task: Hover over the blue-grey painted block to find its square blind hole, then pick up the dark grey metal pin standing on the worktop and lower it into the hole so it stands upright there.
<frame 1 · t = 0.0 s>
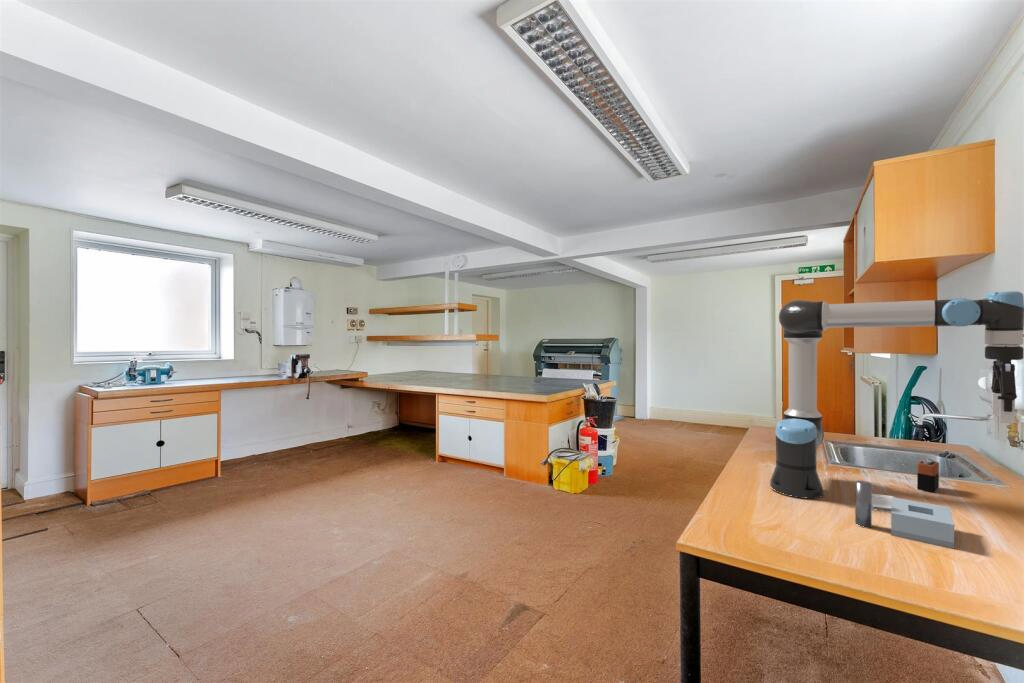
hand: (1002, 419, 130), 28 cm above the table, tool pointing down, fingers open, 13 cm apart
external hard drive: (883, 506, 141), on the table
socket block: (920, 531, 122), on the table
battery: (928, 489, 152), on the table
pin: (863, 525, 126), on the table
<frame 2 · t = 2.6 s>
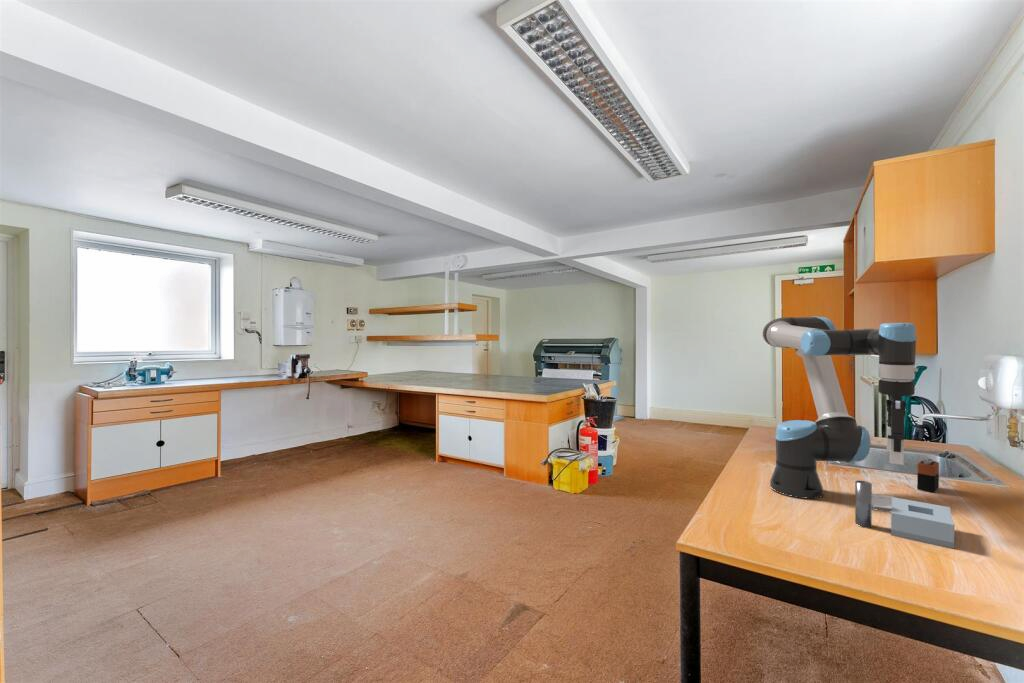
hand: (894, 456, 124), 20 cm above the table, tool pointing down, fingers open, 13 cm apart
nothing on the table moved.
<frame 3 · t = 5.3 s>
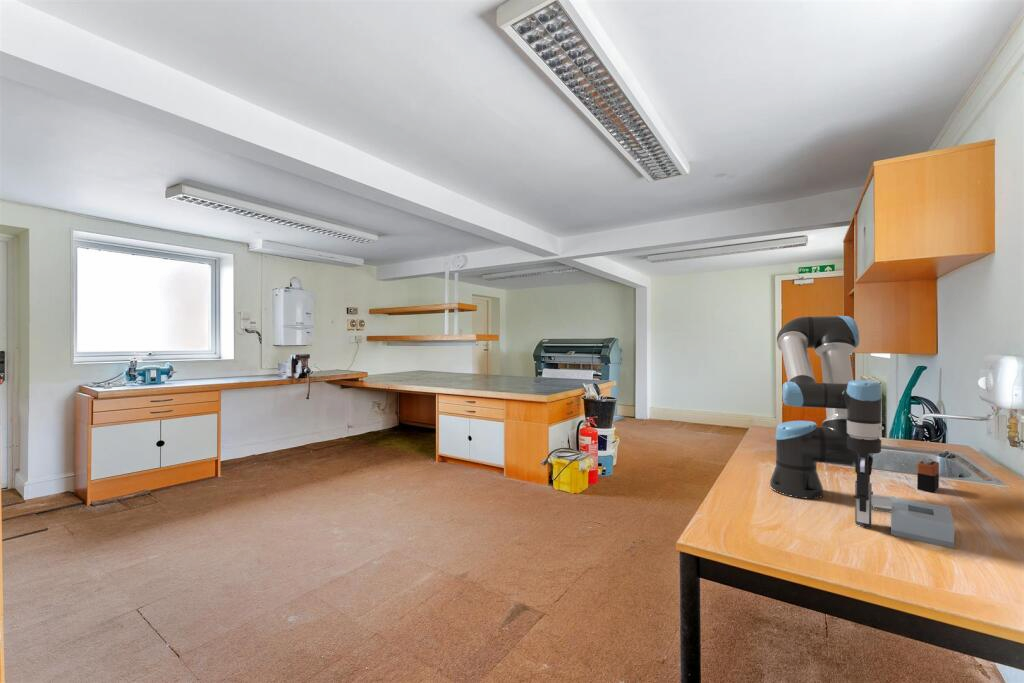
hand: (863, 519, 126), 2 cm above the table, tool pointing down, fingers closed on pin, 3 cm apart
pin: (863, 524, 127), on the table, touching gripper
everything else where it was.
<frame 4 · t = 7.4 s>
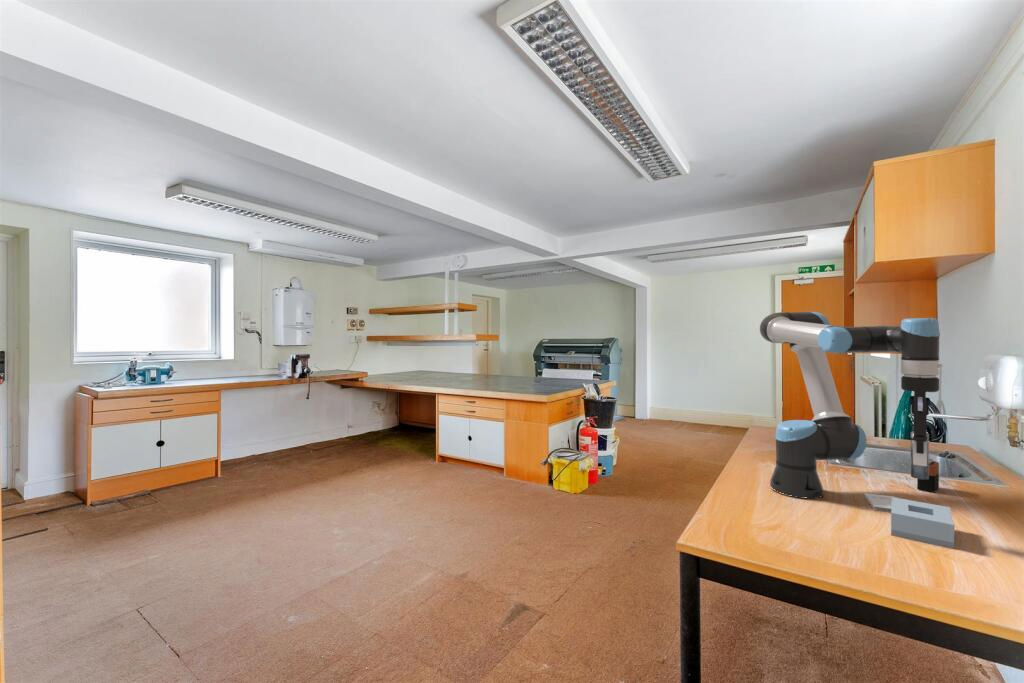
hand: (919, 463, 121), 19 cm above the table, tool pointing down, fingers closed on pin, 3 cm apart
pin: (919, 477, 121), point 15 cm above the table, touching gripper
everything else where it was.
when the fingers open (7 cm above the table, at t = 9.8 s): pin stays where it is, resting on socket block.
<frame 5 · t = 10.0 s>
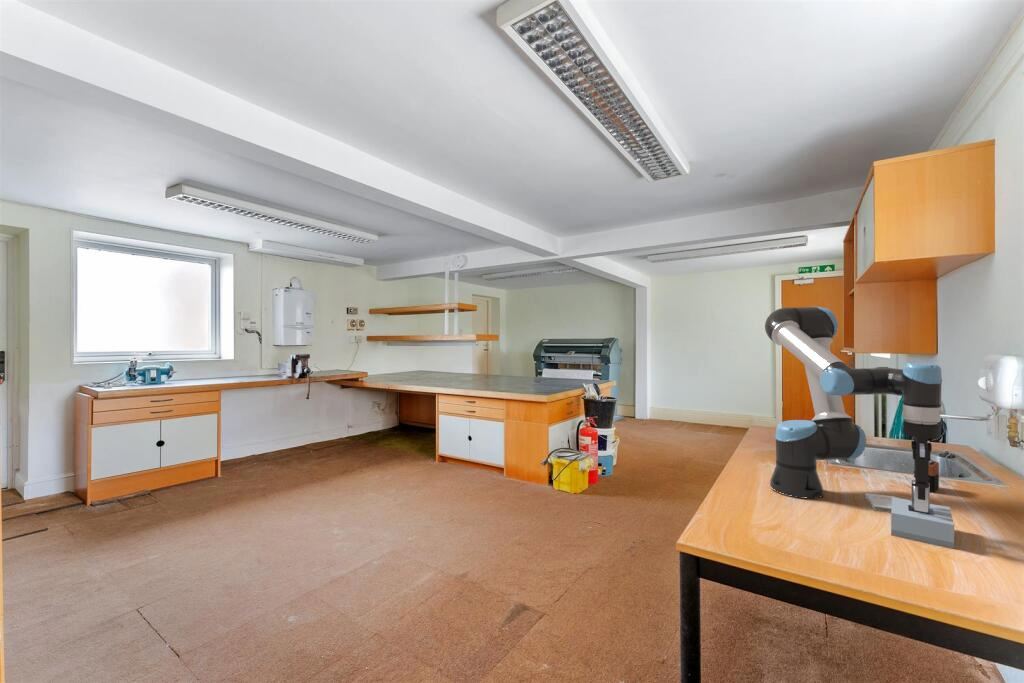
hand: (920, 507, 121), 7 cm above the table, tool pointing down, fingers open, 5 cm apart
pin: (920, 526, 122), point 2 cm above the table, touching socket block
everything else where it was.
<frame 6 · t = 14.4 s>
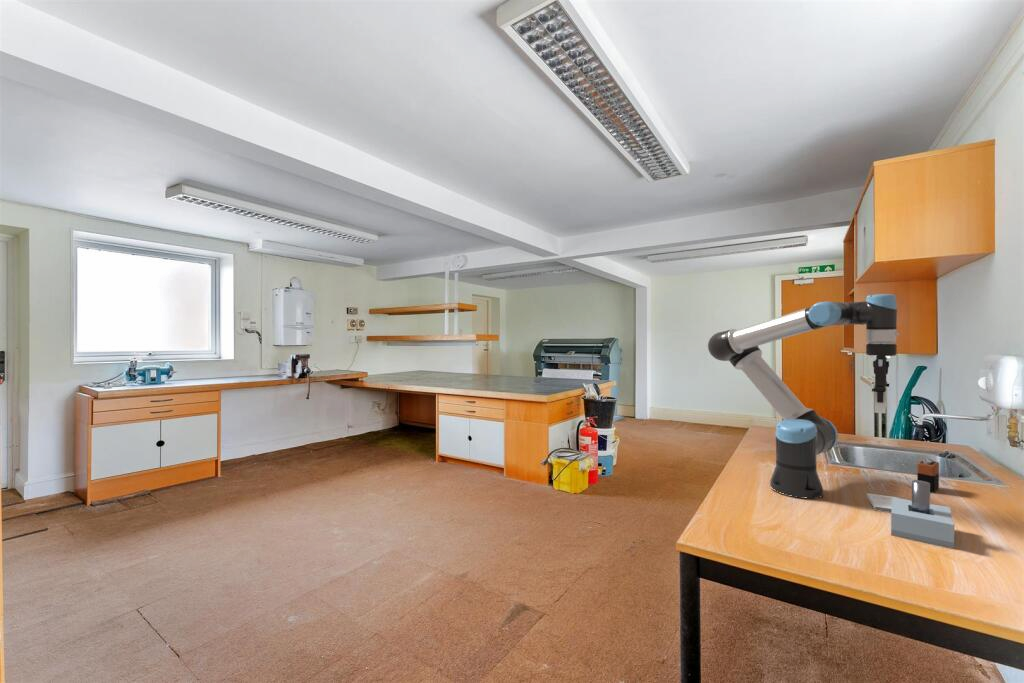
hand: (880, 409, 144), 29 cm above the table, tool pointing down, fingers open, 13 cm apart
nothing on the table moved.
at the end: pin 0.0 cm off-centre on the socket block, point 1.5 cm above the socket block's base; pin tilted 0°; the gripper is holding nothing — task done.
